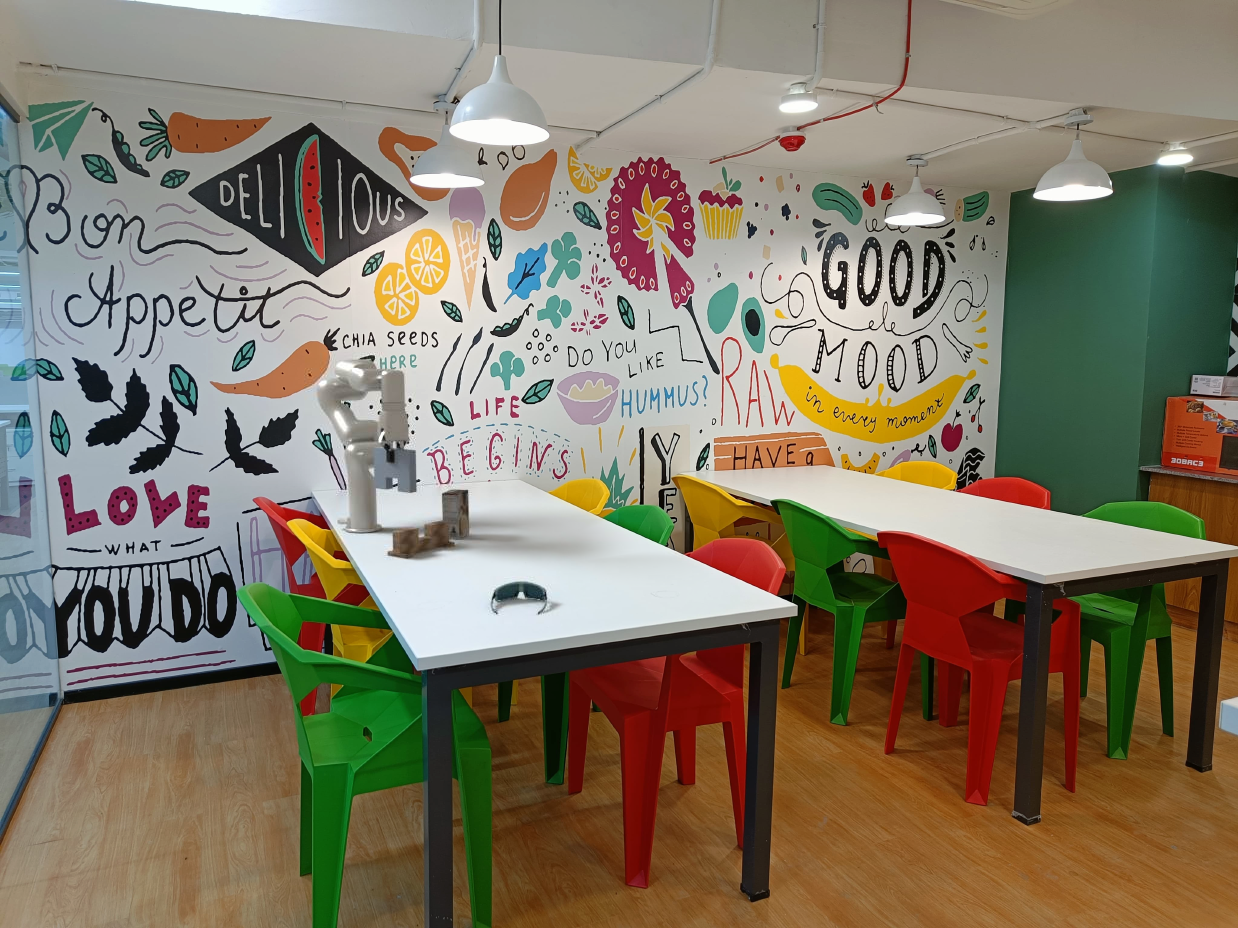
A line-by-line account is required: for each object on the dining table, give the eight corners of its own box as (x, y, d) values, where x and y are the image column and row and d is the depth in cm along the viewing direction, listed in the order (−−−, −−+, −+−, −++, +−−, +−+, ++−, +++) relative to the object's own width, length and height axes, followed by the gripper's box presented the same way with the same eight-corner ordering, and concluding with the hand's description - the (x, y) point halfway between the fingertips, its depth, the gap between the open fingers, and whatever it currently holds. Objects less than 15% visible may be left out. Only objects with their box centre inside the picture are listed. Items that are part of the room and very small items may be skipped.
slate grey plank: (416, 491, 285) (415, 450, 284) (409, 493, 283) (409, 451, 281) (381, 486, 294) (380, 446, 293) (374, 488, 292) (373, 447, 290)
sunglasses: (548, 598, 225) (548, 580, 224) (545, 623, 211) (545, 604, 209) (494, 598, 225) (494, 580, 223) (488, 623, 210) (487, 604, 209)
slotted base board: (405, 558, 266) (404, 533, 265) (387, 555, 270) (386, 530, 269) (454, 545, 284) (454, 522, 283) (437, 542, 289) (436, 519, 288)
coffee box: (452, 533, 304) (451, 488, 301) (469, 534, 302) (469, 489, 300) (442, 538, 295) (441, 492, 293) (459, 539, 293) (459, 493, 291)
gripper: (403, 405, 294) (404, 458, 296) (366, 408, 280) (367, 463, 283) (419, 406, 290) (420, 460, 292) (382, 409, 276) (383, 465, 279)
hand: (394, 461), depth 287 cm, fingers closed on slate grey plank, 3 cm apart
